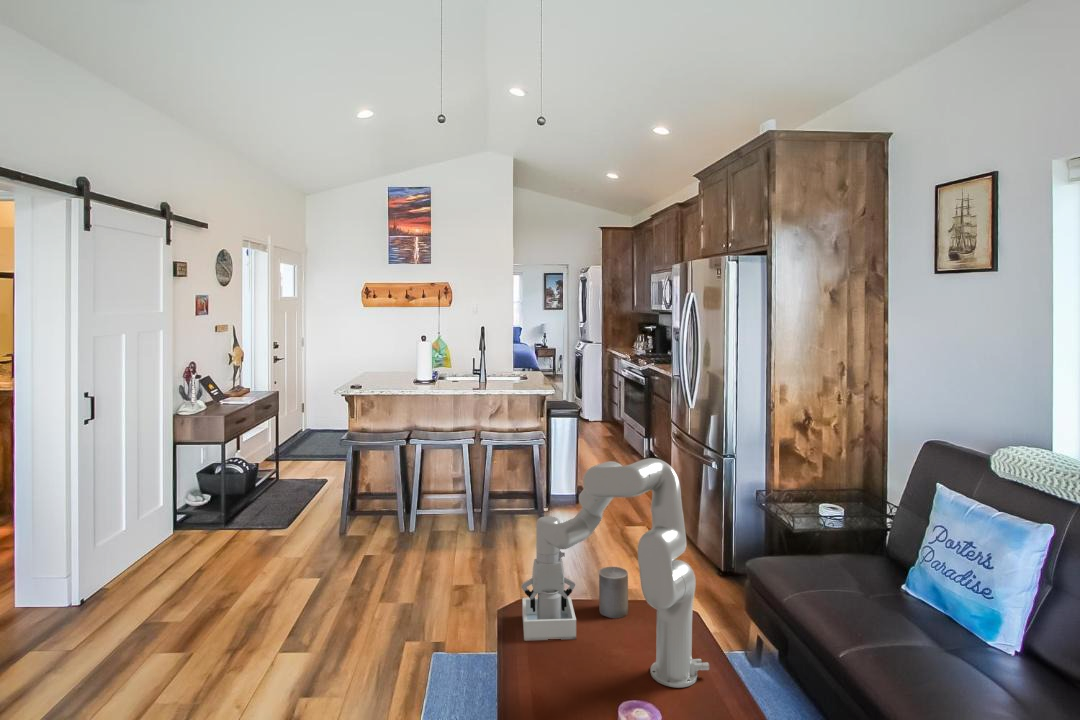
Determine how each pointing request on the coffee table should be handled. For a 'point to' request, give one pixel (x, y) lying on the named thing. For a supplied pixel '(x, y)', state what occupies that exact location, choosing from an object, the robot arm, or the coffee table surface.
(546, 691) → the coffee table surface
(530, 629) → the walled box
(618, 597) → the pillar candle
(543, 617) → the can
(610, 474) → the robot arm
